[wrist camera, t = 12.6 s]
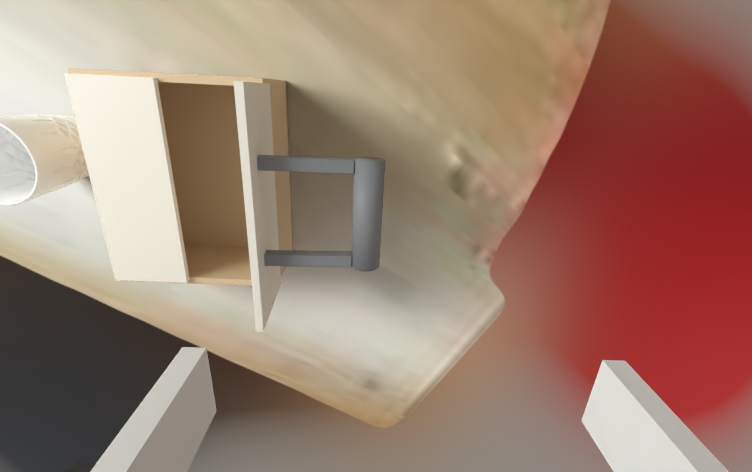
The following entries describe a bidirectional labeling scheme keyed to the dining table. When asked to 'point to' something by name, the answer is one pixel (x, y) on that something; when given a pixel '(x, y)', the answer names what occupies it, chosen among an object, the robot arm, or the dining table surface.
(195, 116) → the cabinet
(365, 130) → the dining table surface
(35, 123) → the white cup
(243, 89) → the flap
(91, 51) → the dining table surface
